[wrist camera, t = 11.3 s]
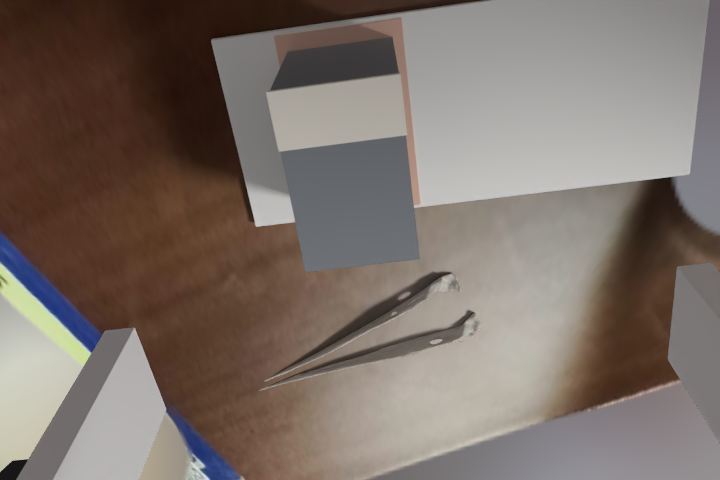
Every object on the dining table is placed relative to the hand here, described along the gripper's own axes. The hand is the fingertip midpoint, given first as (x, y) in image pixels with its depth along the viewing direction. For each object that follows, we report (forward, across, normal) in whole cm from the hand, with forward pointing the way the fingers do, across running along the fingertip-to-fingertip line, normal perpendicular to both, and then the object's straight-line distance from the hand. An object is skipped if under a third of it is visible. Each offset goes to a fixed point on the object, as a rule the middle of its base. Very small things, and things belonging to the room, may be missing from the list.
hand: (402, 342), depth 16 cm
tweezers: (+20, +5, +15) cm, 25 cm away
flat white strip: (+19, -4, 0) cm, 19 cm away
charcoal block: (+18, +2, 0) cm, 19 cm away
